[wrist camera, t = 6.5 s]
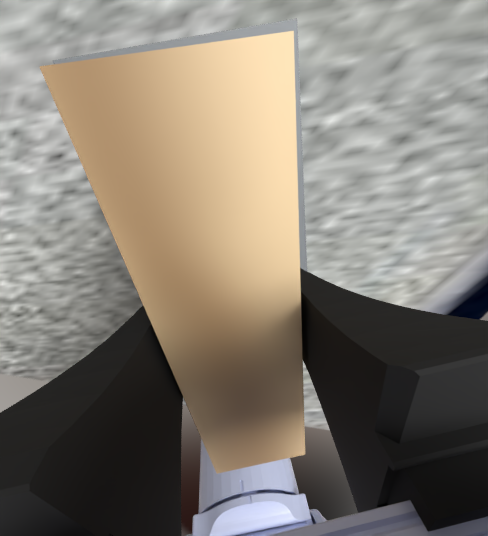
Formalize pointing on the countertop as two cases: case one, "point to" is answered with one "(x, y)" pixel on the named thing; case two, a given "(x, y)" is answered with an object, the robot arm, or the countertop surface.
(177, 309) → the board
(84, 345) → the countertop surface
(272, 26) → the flat gray rectangular plate
